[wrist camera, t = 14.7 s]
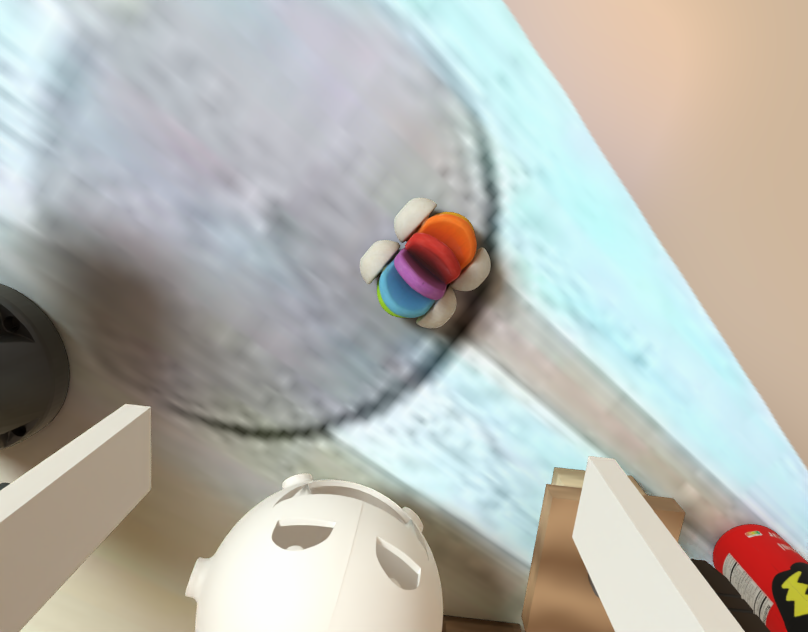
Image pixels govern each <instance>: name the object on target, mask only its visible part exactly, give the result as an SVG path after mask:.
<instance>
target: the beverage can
mask: <svg viewBox="0 0 808 632" xmlns="http://www.w3.org/2000/svg"><path fill="white" fill-rule="evenodd" d="M713 563H714V566H715V569H716V570H718V571H719V572H720V573H721V574H723V575H724V576H725V577H727V579H728V580H729V581H730V582H731V584H732V585H733V586H734V587H735V588H736V590H737V591H738V592H739V593H740V595H741V598H742V599H744V600H745V601H746V602H747V603H748V604H749V606H750V607H751V608H752V609H753V612H754V614H757V615H758V617H759V618H760V619H761V620H762V622H763V623H764V624H765V625H766V627H767V628H768V629H769V630H770V631H771V632H808V562H807V561H806V560H805V559H804V558H802V557H801V556H800V555H799V554H798V553H797V552H796V551H795V550H794V549H793V548H792V547H791V546H790V545H789V544H788V543H786V542H785V541H784V540H783V539H782V538H781V537H780V536H779V535H778V534H777V533H776V532H774V531H773V530H771V529H769V528H767V527H764V526H761V525H755V524H746V525H741V526H737V527H735V528H732V529H730V530H729V531H727V532H726V533H725V534H723V535H722V536H721V538H720V539H719V540H718V542H717V543H716V545H715V548H714V552H713Z"/></svg>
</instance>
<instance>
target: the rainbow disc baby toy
mask: <svg viewBox="0 0 808 632" xmlns="http://www.w3.org/2000/svg"><path fill="white" fill-rule="evenodd" d="M436 206H437V204H436V203H435V202H433V201H432V200H429V199H426V198H414V199H412V200H410V201H409V202H408V203H407V204H406V205H405V206H404V207H403V208H402V210H401V211H400V212H399V213H398V214H397V216H396V217H395V220H394V229H395V233H396V236H397V237H398V239H399V240H400V242H402V243H403V242H405V241H407V243H406V245H405V248H404V249H402V250H401V251H400V252H398V251H399V248H400V245H399V243H397V242H393V241H390V240H381V241H377V242H375V243H374V244H373V245H372V246H371V247H370V248H369V249H368V251H367V252H366V253H365V254H364V256H363V257H362V258H361V260H360V271H361V275H362V277H363V279H364V280H365V282H366V283H367V284H370V283H371V282H372V281H373V280H374V279H375V278H376V277H377V276H378V275H379V274H380V273H381V271H382V274H381V276H380V278H379V280H378V282H377V295H378V299H379V302H380V304H381V306H382V308H383V309H384V310H385V311H386V312H388V313H389V314H390V315H392V316H395V317H400V318H415V317H418V318H417V321H416V323H417V324H418V325H420V326H422V327H425V328H438V327H441V326H443V325H444V324H445V323H446V322H447V321H448V320H449V319H450V318H451V317H452V315H453V314H454V312H455V310H456V305H457V301H456V296H455V293H454V291H453V289H456V290H459V291H470V290H473V289H475V288H477V287H478V286H479V285H480V284H481V283H482V282H483V281H484V280H485V279H486V277H487V276H488V274H489V272H490V267H491V263H490V258H489V255H488V253H487V251H486V250H485V249H484V248H479V249H478V250H477V251H476V248H477V241H476V237H475V232H474V229H473V226H472V224H471V223H470V222H469V220H468V219H467V218H465V217H464V216H462V215H460V214H457V213H454V212H442V213H437V214H434V215H433V216H432V217H430V218H428V217H429V215H430V213H431V212H432V211H433V210H434V208H435V207H436ZM447 284H448V285H447Z"/></svg>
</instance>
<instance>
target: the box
mask: <svg viewBox="0 0 808 632" xmlns="http://www.w3.org/2000/svg"><path fill="white" fill-rule="evenodd" d="M442 632H521V629H520V624H515V623H506V622H497V621H489V620H480V619H471V618H462V617H453V616H445V615H443V623H442Z"/></svg>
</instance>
